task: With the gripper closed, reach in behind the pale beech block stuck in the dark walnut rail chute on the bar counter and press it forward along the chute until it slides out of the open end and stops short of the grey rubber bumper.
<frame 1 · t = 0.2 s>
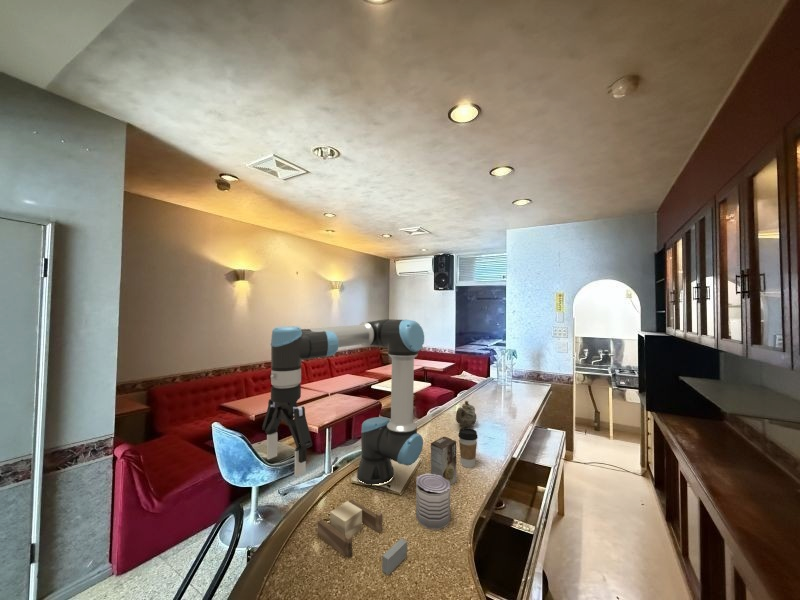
hand: (285, 465, 82), 28 cm above the worktop, fingers open, 13 cm apart
coffee cup: (467, 465, 137), on the worktop
coffee box: (443, 483, 123), on the worktop
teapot: (466, 426, 180), on the worktop
block: (346, 530, 96), on the worktop
chute: (350, 532, 95), on the worktop
bumper: (395, 563, 84), on the worktop
can: (433, 518, 102), on the worktop
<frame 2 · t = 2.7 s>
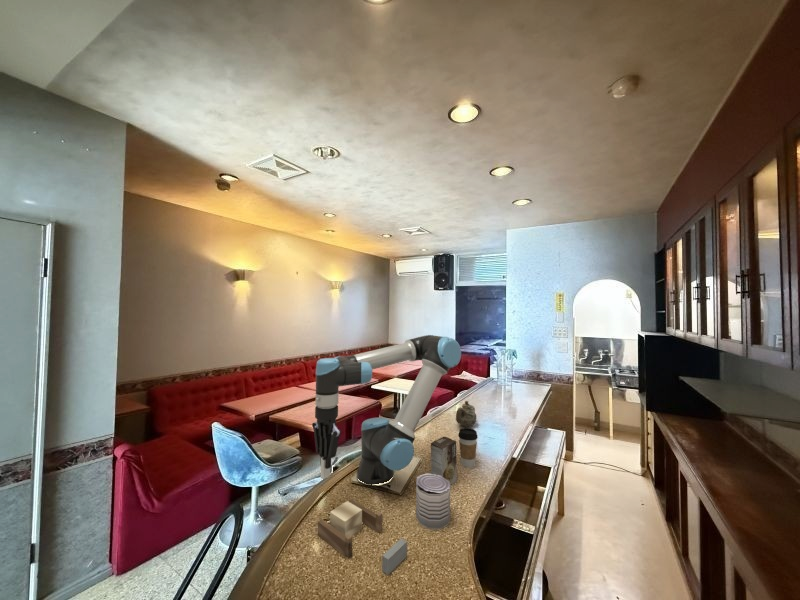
hand: (325, 476, 103), 13 cm above the worktop, fingers closed
nothing on the worktop moved.
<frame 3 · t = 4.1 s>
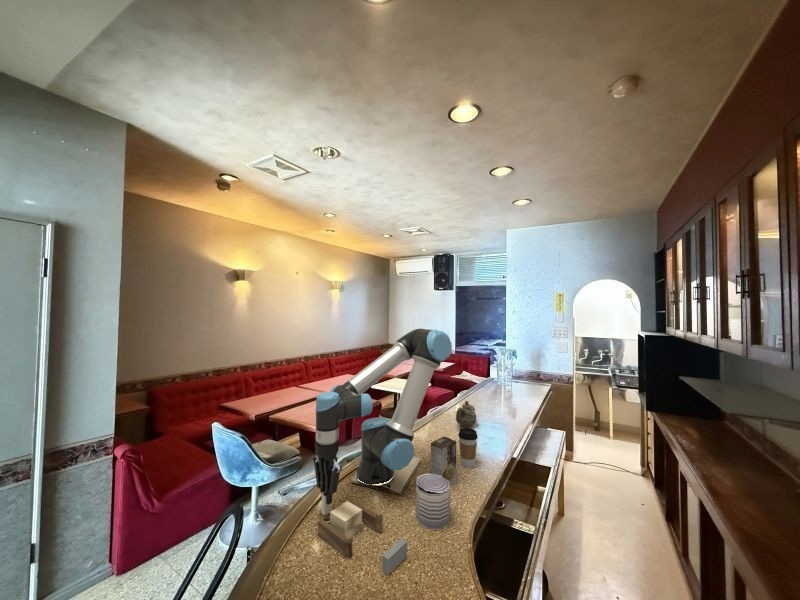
hand: (326, 512, 103), 1 cm above the worktop, fingers closed
nothing on the worktop moved.
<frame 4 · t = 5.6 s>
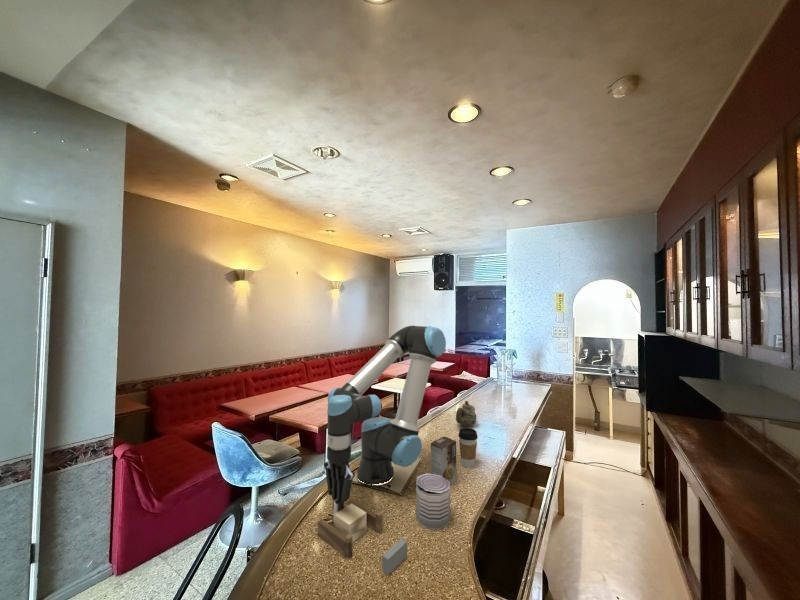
hand: (338, 520, 98), 2 cm above the worktop, fingers closed
block: (350, 533, 95), on the worktop, touching gripper
everything else where it was.
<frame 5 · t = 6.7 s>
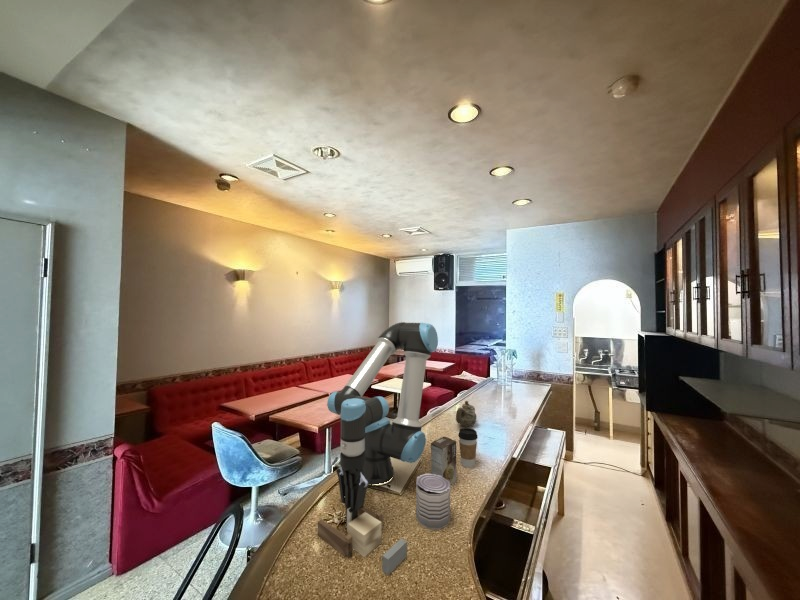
hand: (351, 529, 94), 2 cm above the worktop, fingers closed
block: (364, 543, 91), on the worktop, touching gripper
everything else where it was.
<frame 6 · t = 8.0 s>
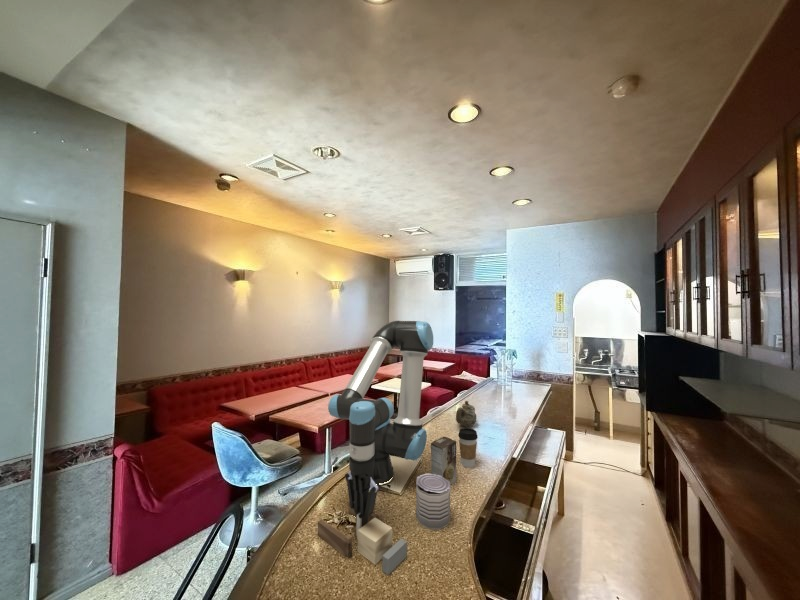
hand: (361, 535, 92), 1 cm above the worktop, fingers closed
block: (375, 550, 88), on the worktop, touching gripper
everything else where it was.
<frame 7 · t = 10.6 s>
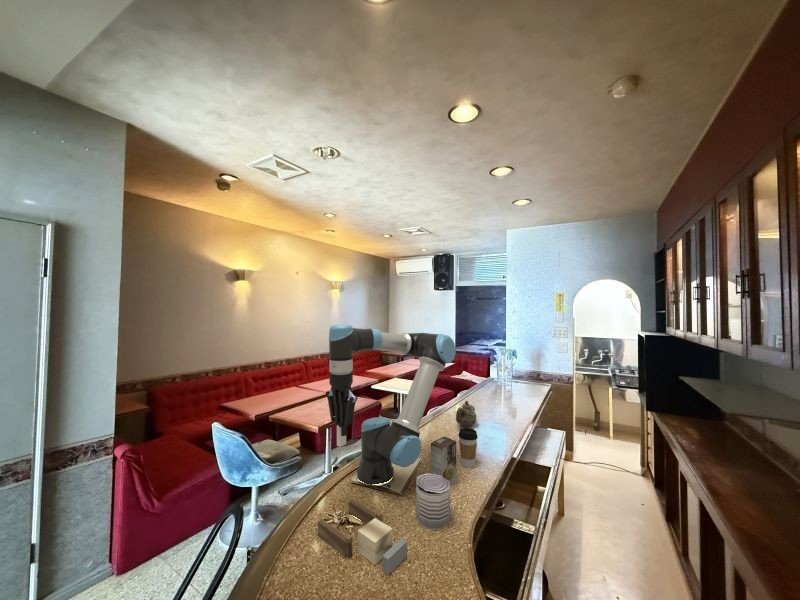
hand: (341, 444, 101), 25 cm above the worktop, fingers closed
block: (375, 550, 88), on the worktop
everything else where it was.
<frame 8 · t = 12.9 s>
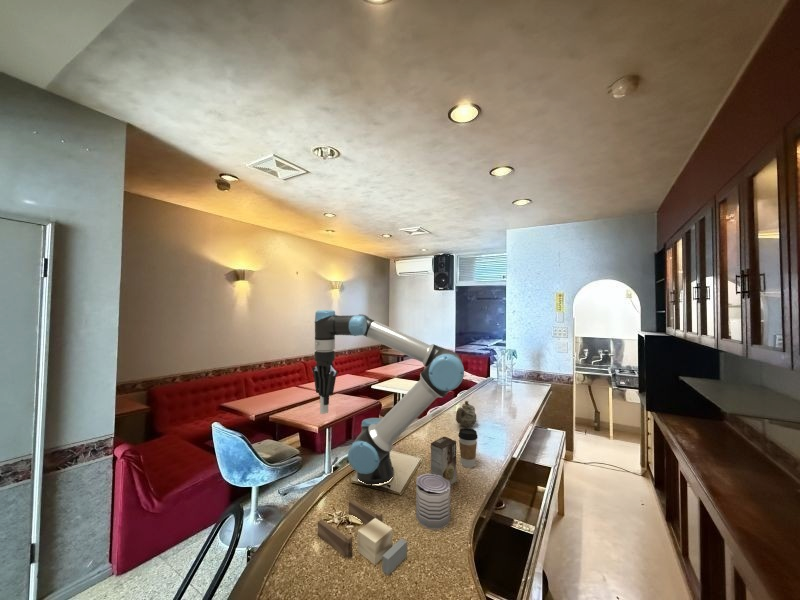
hand: (324, 412, 117), 29 cm above the worktop, fingers closed
nothing on the worktop moved.
at the end: block inside the target area (0.8 cm from its centre), on the worktop; block tilted 0°; block moved 12.7 cm from its start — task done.
